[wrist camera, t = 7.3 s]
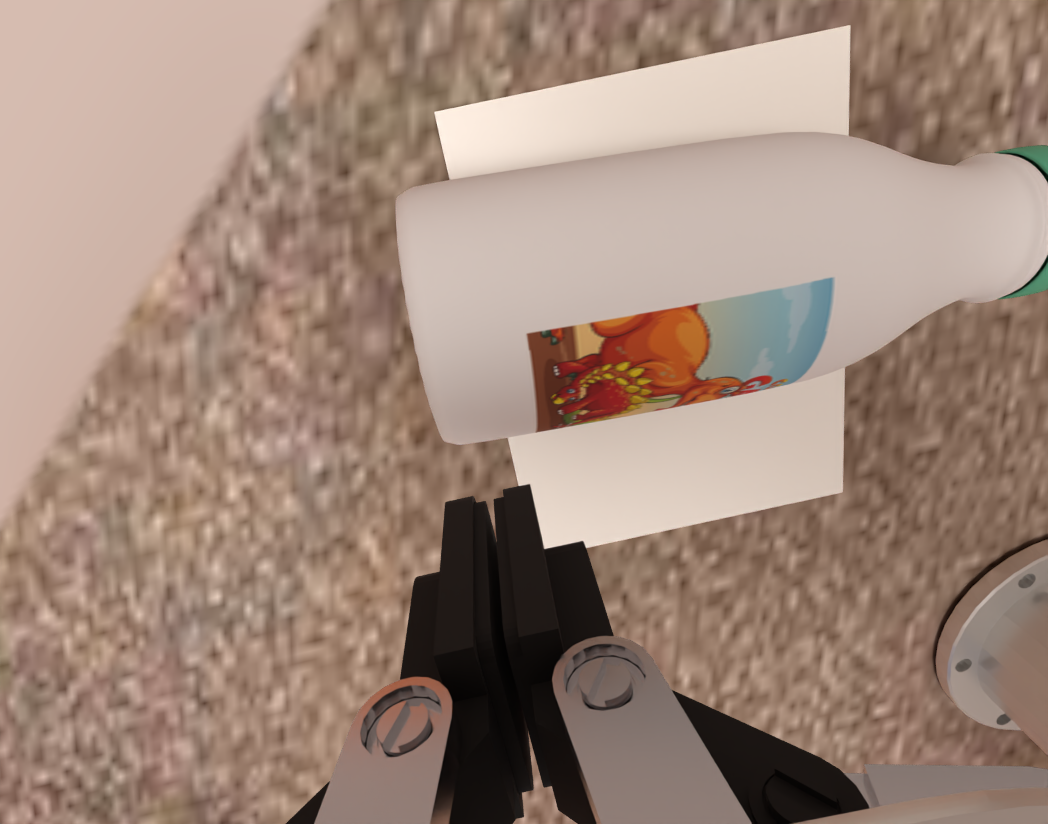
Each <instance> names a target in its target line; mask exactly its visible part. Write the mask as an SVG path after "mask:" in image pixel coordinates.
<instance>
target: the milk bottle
mask: <svg viewBox="0 0 1048 824" xmlns="http://www.w3.org/2000/svg"><path fill="white" fill-rule="evenodd" d="M396 230H397V244H398V251H399V262H400V267H401V274H402V283H403V287H404V292H405V301H406V307H407V310H408V314H409V321H410V328H411V332H412V335H413V339H414V347H415V352H416V354H417V357H418V363H419V369H420V373H421V376H422V378H423V383H424V388H425V392H426V395H427V397H428V401H429V406H430V409H431V411H432V414H433V417H434V420H435V422H436V425H437V428H438V430H439V433H440V435H441V437H442V439H443V441H445V442H448V443H453V444H458V445H464V444H471V443H478V442H484V441H491V440H497V439H503V438H509V437H514V436H520V435H525V434H531V433H537V432H542V431H548V430H554V429H559V428H565V427H570V426H576V425H581V424H587V423H592V422H598V421H604V420H609V419H615V418H620V417H626V416H631V415H637V414H642V413H648V412H653V411H659V410H664V409H669V408H675V407H680V406H685V405H690V404H696V403H701V402H706V401H712V400H717V399H722V398H727V397H733V396H738V395H743V394H748V393H753V392H757V391H762V390H766V389H771V388H775V387H780V386H784V385H789V384H793V383H798V382H802V381H806V380H810V379H813V378H816V377H819V376H822V375H825V374H829V373H832V372H834V371H837V370H839V369H841V368H844V367H846V366H848V365H851V364H853V363H855V362H857V361H859V360H861V359H863V358H865V357H867V356H869V355H870V354H872V353H874V352H876V351H877V350H879V349H880V348H882V347H883V346H885V345H886V344H888V343H889V342H891V341H892V340H894V339H895V338H897V337H898V336H899V335H901V334H902V333H903V332H905V331H906V330H907V329H909V328H910V327H912V326H913V325H914V324H916V323H917V322H918V321H920V320H921V319H923V318H925V317H926V316H928V315H929V314H931V313H933V312H935V311H937V310H938V309H940V308H942V307H944V306H946V305H949V304H951V303H953V302H955V301H958V300H961V301H964V302H969V303H985V302H990V301H993V300H996V299H1006V298H1014V297H1020V296H1025V295H1030V294H1034V293H1038V292H1042V291H1045V290H1047V289H1048V146H1045V145H1038V146H1028V147H1019V148H1013V149H1008V150H1003V151H999V152H995V153H983V154H978V155H974V156H971V157H969V158H967V159H965V160H963V161H961V162H959V163H958V164H956V165H955V166H952V165H944V164H937V163H932V162H927V161H923V160H919V159H916V158H913V157H910V156H908V155H905V154H902V153H900V152H897V151H895V150H892V149H890V148H887V147H885V146H882V145H879V144H876V143H873V142H870V141H867V140H864V139H860V138H856V137H851V136H846V135H840V134H832V133H822V132H782V133H773V134H763V135H754V136H745V137H736V138H726V139H719V140H712V141H705V142H698V143H691V144H684V145H677V146H670V147H663V148H656V149H649V150H642V151H635V152H628V153H621V154H615V155H608V156H602V157H595V158H589V159H582V160H575V161H569V162H562V163H556V164H549V165H543V166H536V167H530V168H523V169H517V170H510V171H504V172H497V173H491V174H485V175H478V176H472V177H465V178H459V179H453V180H446V181H441V182H436V183H431V184H425V185H420V186H415V187H411V188H409V189H408V190H406V191H405V192H403V193H402V194H400V195H398V197H397V199H396Z"/></svg>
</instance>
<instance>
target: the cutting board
mask: <svg viewBox="0 0 1048 824" xmlns="http://www.w3.org/2000/svg"><path fill="white" fill-rule="evenodd" d="M849 78H850V25H848V26H843V27H838V28H834V29H829V30H824V31H819V32H814V33H810V34H805V35H800V36H795V37H791V38H786V39H781V40H776V41H771V42H767V43H762V44H757V45H752V46H748V47H743V48H738V49H733V50H728V51H724V52H719V53H714V54H709V55H704V56H700V57H695V58H690V59H685V60H681V61H676V62H671V63H666V64H661V65H657V66H652V67H647V68H642V69H637V70H633V71H628V72H623V73H618V74H614V75H609V76H604V77H599V78H594V79H590V80H585V81H580V82H575V83H570V84H566V85H561V86H556V87H551V88H547V89H542V90H537V91H532V92H527V93H523V94H518V95H513V96H508V97H504V98H499V99H494V100H489V101H484V102H480V103H475V104H470V105H465V106H460V107H456V108H451V109H446V110H441V111H437V112H434V113H435V117H436V122H437V126H438V131H439V135H440V140H441V144H442V148H443V153H444V157H445V162H446V166H447V171H448V175H449V179H450V180H453V179H459V178H465V177H472V176H478V175H485V174H491V173H497V172H504V171H510V170H517V169H523V168H530V167H536V166H543V165H549V164H556V163H562V162H569V161H575V160H582V159H589V158H595V157H602V156H608V155H615V154H621V153H628V152H635V151H642V150H649V149H656V148H663V147H670V146H677V145H684V144H691V143H698V142H705V141H712V140H719V139H726V138H736V137H745V136H754V135H763V134H773V133H782V132H822V133H832V134H840V135H846V136H849ZM844 389H845V367H844V368H841V369H839V370H837V371H834V372H832V373H829V374H825V375H822V376H819V377H816V378H813V379H810V380H806V381H802V382H798V383H793V384H789V385H784V386H780V387H775V388H771V389H766V390H762V391H757V392H753V393H748V394H743V395H738V396H733V397H727V398H722V399H717V400H712V401H706V402H701V403H696V404H690V405H685V406H680V407H675V408H669V409H664V410H659V411H653V412H648V413H642V414H637V415H631V416H626V417H620V418H615V419H609V420H604V421H598V422H592V423H587V424H581V425H576V426H570V427H565V428H559V429H554V430H548V431H542V432H537V433H531V434H525V435H520V436H514V437H509V438H508V441H509V445H510V450H511V454H512V459H513V463H514V467H515V472H516V476H517V481H518V485H519V486H522V485H527V484H530V486H531V490H532V495H533V499H534V504H535V508H536V513H537V517H538V522H539V527H540V531H541V536H542V540H543V545H544V549H547V548H552V547H556V546H561V545H566V544H570V543H575V542H579V541H584V544H585V547H586V548H588V547H593V546H597V545H602V544H607V543H611V542H616V541H621V540H625V539H630V538H634V537H639V536H644V535H648V534H653V533H658V532H662V531H667V530H671V529H676V528H681V527H685V526H690V525H694V524H699V523H704V522H708V521H713V520H718V519H722V518H727V517H731V516H736V515H741V514H745V513H750V512H754V511H759V510H764V509H768V508H773V507H778V506H782V505H787V504H791V503H796V502H801V501H805V500H810V499H815V498H819V497H824V496H828V495H833V494H838V493H842V492H843V452H844Z"/></svg>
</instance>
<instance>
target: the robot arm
mask: <svg viewBox="0 0 1048 824" xmlns="http://www.w3.org/2000/svg"><path fill="white" fill-rule="evenodd" d="M503 495H504V497H501V498H497V499H494V511H495V525H496V538H497V542H496V538H495V534H494V530H493V526H492V522H491V518H490V515H489V511H488V507H487V504H486V501H483V502H478V503H476V501H475V498H474V496H471V497H467V498H462V499H457V500H453V501H448V502H446V503H445V512H444V525H443V538H442V550H441V563H440V572H437V573H432V574H427V575H423V576H418V577H416V578H415V581H414V585H413V592H412V599H411V606H410V613H409V620H408V627H407V634H406V641H405V648H404V655H403V663H402V670H401V677H400V680H398V681H396V682H394V683H392V684H389V685H387V686H385V687H383V688H382V689H381V690H379V691H378V692H377V693H375V694H374V695H373V696H371V697H370V698H369V699H368V700H367V702H366V703H365V704H364V705H363V706H362V707H361V708H360V709H359V711H358V713H357V715H356V717H355V719H354V721H353V722H352V725H351V727H350V730H349V732H348V735H347V738H346V740H345V743H344V746H343V748H342V751H341V754H340V756H339V759H338V762H337V764H336V767H335V770H334V772H333V775H332V778H331V780H330V781H329V782H328V783H327V784H326V785H325V786H324V787H323V788H322V789H321V790H320V791H319V792H318V793H317V794H316V795H315V796H314V797H313V798H312V799H311V800H310V801H309V802H308V803H307V804H306V805H305V806H303V807H302V808H301V809H300V810H299V811H298V812H297V813H296V814H295V815H294V816H293V817H292V818H291V819H290V820H289V821H288V822H287V823H286V824H513V822H514V821H515V820H516V819H517V818H521V817H524V812H523V800H522V792H526V791H531V790H533V775H532V765H531V756H530V746H529V737H528V732H529V735H530V739H531V743H532V746H533V750H534V754H535V757H536V761H537V765H538V769H539V772H540V776H541V780H542V783H543V786H544V788H545V787H549V786H552V788H553V792H554V795H555V799H556V803H557V807H558V810H559V811H560V812H562V813H563V814H565V815H566V816H568V817H569V818H570V819H572V820H573V821H575V822H576V823H578V824H1048V769H1042V768H1036V767H1029V766H958V765H880V764H864V774H859V773H843V772H842V771H841V770H840V769H838V768H836V767H835V766H833V765H831V764H830V763H828V762H826V761H825V760H823V759H821V758H820V757H818V756H815V755H813V754H811V753H809V752H807V751H804V750H802V749H800V748H798V747H796V746H793V745H791V744H789V743H787V742H785V741H782V740H780V739H778V738H776V737H774V736H772V735H769V734H767V733H765V732H763V731H761V730H758V729H756V728H754V727H752V726H750V725H747V724H745V723H743V722H741V721H739V720H736V719H734V718H732V717H730V716H728V715H726V714H723V713H721V712H719V711H717V710H715V709H712V708H710V707H708V706H706V705H704V704H701V703H699V702H697V701H695V700H693V699H690V698H688V697H686V696H684V695H682V694H679V693H677V692H675V691H673V690H671V688H670V687H669V685H668V683H667V682H666V680H665V679H664V677H663V675H662V674H661V672H660V670H659V669H658V667H657V665H656V664H655V662H654V660H653V659H652V657H651V656H650V655H649V654H648V653H647V651H646V650H645V649H644V648H643V647H641V646H640V645H638V644H636V643H635V642H633V641H631V640H628V639H625V638H621V637H617V636H614V635H613V632H612V629H611V626H610V623H609V619H608V616H607V613H606V610H605V607H604V604H603V600H602V597H601V594H600V591H599V588H598V585H597V581H596V578H595V575H594V572H593V569H592V566H591V562H590V559H589V556H588V553H587V550H586V547H585V544H584V541H579V542H575V543H570V544H566V545H561V546H556V547H552V548H547V549H544V545H543V540H542V536H541V531H540V527H539V522H538V517H537V513H536V508H535V504H534V499H533V495H532V490H531V486H530V484H527V485H522V486H517V487H513V488H508V489H504V490H503ZM936 670H937V677H938V679H939V682H940V684H941V687H942V689H943V691H944V692H945V693H946V694H947V696H948V697H949V698H950V699H951V701H952V702H953V703H954V704H955V705H956V706H957V707H958V708H959V709H960V710H961V711H962V712H963V713H964V714H965V715H967V716H968V717H969V718H971V719H973V720H975V721H977V722H978V723H980V724H982V725H986V726H989V727H992V728H997V729H1007V730H1022V731H1023V732H1024V733H1025V734H1026V735H1027V736H1028V737H1029V738H1030V739H1031V740H1032V741H1033V742H1034V743H1035V744H1036V745H1037V746H1038V747H1039V748H1040V749H1041V750H1042V751H1043V752H1044V753H1045V754H1046V755H1047V756H1048V539H1047V540H1044V541H1041V542H1039V543H1036V544H1033V545H1031V546H1029V547H1027V548H1025V549H1023V550H1022V551H1020V552H1018V553H1016V554H1014V555H1012V556H1010V557H1009V558H1007V559H1006V560H1004V561H1003V562H1002V563H1000V564H999V565H997V566H996V567H994V568H993V569H992V570H990V571H989V572H988V573H987V574H985V575H984V576H983V577H982V578H981V579H980V580H979V581H978V582H977V583H976V584H975V585H973V586H972V587H971V588H970V590H969V591H968V592H967V593H966V594H965V596H964V597H963V598H962V599H961V600H960V602H959V603H958V604H957V605H956V607H955V608H954V610H953V612H952V613H951V615H950V617H949V618H948V620H947V622H946V623H945V626H944V629H943V631H942V634H941V636H940V639H939V642H938V648H937V654H936Z"/></svg>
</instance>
